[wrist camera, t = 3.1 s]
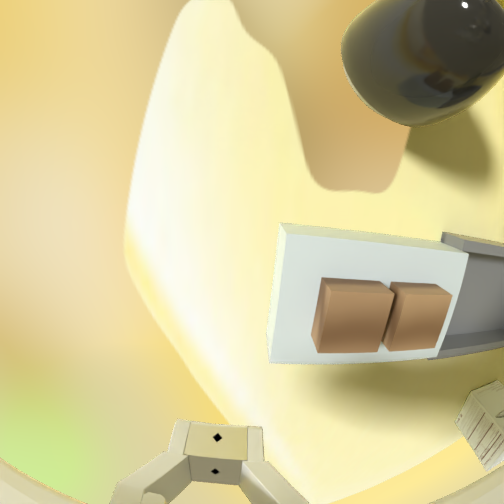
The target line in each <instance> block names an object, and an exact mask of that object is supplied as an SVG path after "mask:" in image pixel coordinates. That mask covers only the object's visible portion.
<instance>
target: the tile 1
mask: <svg viewBox="0 0 504 504" xmlns="http://www.w3.org/2000/svg"><path fill="white" fill-rule="evenodd" d="M393 298H394V293H393V292H392V291H391V290H389V289H388V288H387V287H386V286H385V285H384V284H383V283H381V282H380V281H374V280H357V279H342V278H327V277H321V283H320V289H319V294H318V300H317V305H316V311H315V316H314V321H313V326H312V331H311V337H312V339H313V342H314V345H315V347H316V350H317V353H372V352H378V349H379V346H380V343H381V339H382V336H383V333H384V330H385V326H386V323H387V320H388V316H389V313H390V309H391V305H392V302H393Z"/></svg>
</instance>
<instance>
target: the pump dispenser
mask: <svg viewBox="0 0 504 504" xmlns="http://www.w3.org/2000/svg"><path fill="white" fill-rule="evenodd" d="M341 54H342V60H343V66H344V70H345V74H346V77H347V79H348V81H349V83H350V85H351V87H352V89H353V90H354V92H355V93H356V94H357V96H358V97H359V98H360V99H361V100H362V101H363V102H364V103H365V104H366V105H367V106H368V107H369V108H370V109H372V110H373V111H375V112H376V113H378V114H380V115H381V116H383V117H386V118H388V119H390V120H392V121H394V122H396V123H399V124H401V125H405V126H410V127H426V126H431V125H435V124H438V123H440V122H443V121H445V120H447V119H450V118H452V117H454V116H456V115H458V114H460V113H461V112H463V111H465V110H466V109H468V108H470V107H471V106H472V105H474V104H475V103H476V102H478V101H479V100H480V99H481V98H483V97H484V96H485V95H486V94H487V93H488V92H489V91H490V90H491V89H492V88H493V87H494V86H495V85H496V84H497V83H498V81H499V80H500V79H501V78H502V76H503V75H504V9H503V7H502V6H501V5H500V4H499V3H498V2H497V0H376V1H375V2H373V3H372V4H370V5H369V6H368V7H367V8H365V9H364V10H363V11H362V12H360V13H359V14H358V15H357V16H356V17H355V18H354V19H353V20H352V22H351V23H350V24H349V26H348V27H347V29H346V30H345V32H344V35H343V38H342V43H341Z"/></svg>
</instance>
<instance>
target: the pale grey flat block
mask: <svg viewBox="0 0 504 504" xmlns="http://www.w3.org/2000/svg"><path fill="white" fill-rule="evenodd" d="M468 256H469V254H468V253H466V252H463V251H461V250H459V249H456V248H454V247H452V246H449V245H447V244H445V243H442V242H438V241H431V240H424V239H417V238H409V237H402V236H394V235H386V234H379V233H370V232H362V231H354V230H345V229H336V228H327V227H318V226H308V225H298V224H288V223H279V232H278V241H277V250H276V258H275V267H274V276H273V284H272V292H271V300H270V308H269V316H268V324H267V332H266V336H267V346H268V356H269V363H281V364H356V363H377V362H392V361H404V360H414V359H423V358H432V357H437V355H438V352H439V350H440V347H441V345H442V342H443V340H444V337H445V334H446V332H447V329H448V326H449V323H450V320H451V317H452V314H453V311H454V308H455V305H456V302H457V299H458V295H459V292H460V288H461V285H462V281H463V277H464V273H465V269H466V265H467V261H468ZM321 277H327V278H342V279H357V280H374V281H380V282H381V283H383V284H384V285H385V286H386V287H387V288H388V289H389V288H390V283H391V282H409V283H429V284H437V285H438V286H440V287H441V288H443V289H444V290H446V291H447V292H449V293H450V294H452V295H453V296H452V299H451V303H450V306H449V309H448V312H447V315H446V318H445V321H444V324H443V327H442V330H441V333H440V335H439V338H438V341H437V343H436V346H435V348H430V349H419V350H407V351H392V352H389V351H388V350H387V348H386V347H385V346H384V344H383V343H382V341H381V343H380V346H379V349H378V352H372V353H317V350H316V347H315V345H314V342H313V339H312V337H311V331H312V326H313V321H314V316H315V311H316V305H317V300H318V294H319V289H320V283H321Z"/></svg>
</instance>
